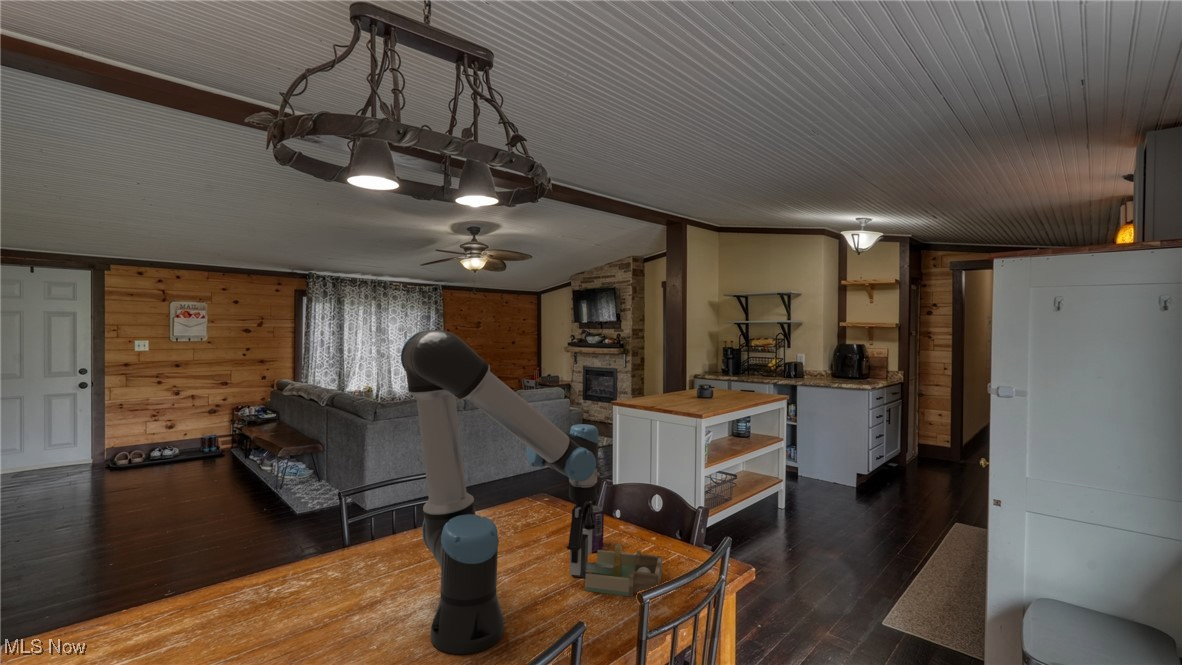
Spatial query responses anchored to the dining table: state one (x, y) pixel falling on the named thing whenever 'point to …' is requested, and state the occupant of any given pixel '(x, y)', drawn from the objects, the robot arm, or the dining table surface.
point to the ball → (643, 570)
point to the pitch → (610, 582)
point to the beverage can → (597, 529)
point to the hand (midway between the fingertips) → (581, 563)
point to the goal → (642, 579)
